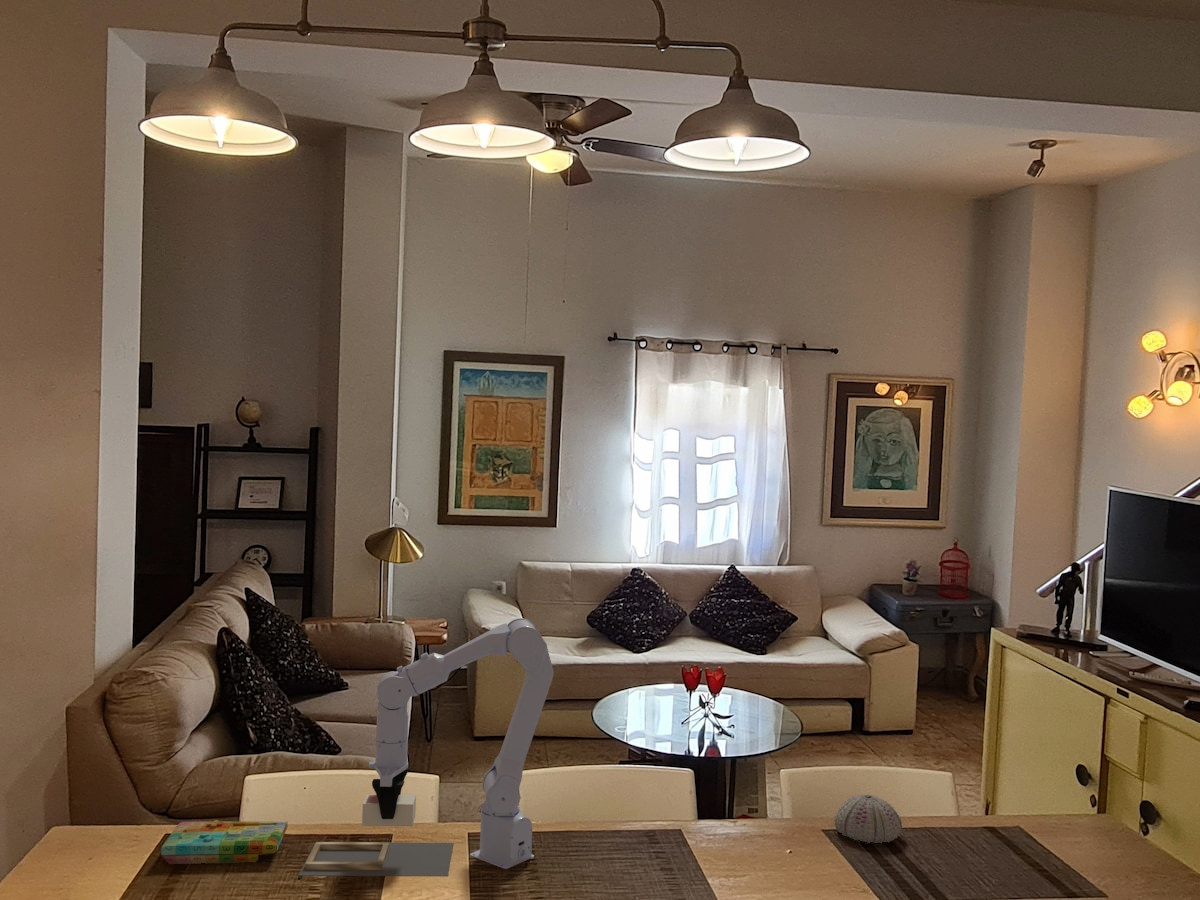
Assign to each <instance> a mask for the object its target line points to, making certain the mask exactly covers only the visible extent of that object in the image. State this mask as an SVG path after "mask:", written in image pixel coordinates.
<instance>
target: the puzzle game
mask: <svg viewBox="0 0 1200 900" xmlns="http://www.w3.org/2000/svg"><path fill="white" fill-rule="evenodd" d="M288 826H289V823H288V821H220V820H219V819H214V820H213V821H181V822H179V823H178V824H177V825H176V826H175V828H174V829H173V831H172V832H171V833H170V835H169V836H168V837H167V839H166V840H165V842H164V843H163V844H162V845H161V847H160V856H161V857H162V858H163V859H164V860H165V861H166V862H167V863H168V865H188V864H189V865H192V864H193V865H195V864H198V865H199V864H201V863H205V864H235V863H234V862H255V863H256V862H257V861H258V860H259V858H260V856H261V855H273V854H275V853H277V852H278V849H279V848H280V846H281V844H282V840H283V838H284V836H285V834H286V831H287V829H288ZM201 865H202V864H201Z"/></svg>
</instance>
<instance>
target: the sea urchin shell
mask: <svg viewBox="0 0 1200 900" xmlns="http://www.w3.org/2000/svg"><path fill="white" fill-rule="evenodd" d="M834 826H835V829H836V830H837V831H838V833H839V834H840V833H842V834H841V835H842V836H847V837H850V838H849V839H851V838H852V839H854V840H853V841H855V840H860V841H865V842H868V843H869V844H871V843H870V842H874V843H881V844H883V843H882V842H888V843H891V842H893V841H894V840H895V839H898V836H899V835H901V832H902V828H903V821H902V818H901V817H900V815H899V814H898V811H896V810H895V807H893V806H892V805H891V804H890V803H889V802H887V800H885V799H883V798H881V797H878V796H875V795H873V794H858V795H857V794H856V795H854V796H851V797H850V798H848V799H847V800H846V801H844V803H843V804H841V806H840V807H839V808H838V811H837V812H835V816H834ZM847 837H846V838H847ZM852 839H851V840H852ZM860 841H859V842H860ZM868 843H867V844H868Z"/></svg>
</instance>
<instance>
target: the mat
mask: <svg viewBox="0 0 1200 900" xmlns="http://www.w3.org/2000/svg"><path fill="white" fill-rule="evenodd" d="M315 844H316V842H315V843H314V844H313V847H312V849H311V850H310V851H309V852H310V853H311V852H312V850H313V848H314V846H315ZM454 845H455V843H454V842H392V841H391V842H389V850H388V853H387V856H386V859H385V862H384V865H383V868H382V870H305V863H306V861H307V859H308V857H309V855H310V853H309V855H307V858H306V861H305V862H304V864H303V866H302V868H301V870H300V872H299V874H298V879H303V877H305V876H306V877H309V876H310V877H315V876H316V877H319V876H320V877H321V876H322V877H323V876H324V877H325V876H327V877H328V876H329V877H449V873H450V867H451V862H452V861H451V860H452V857H453V850H454ZM380 852H381V850H333V849H321V850H320V852H319V854H318V856H317V858H316V860H315V862H377V861H378V858H379V855H380Z"/></svg>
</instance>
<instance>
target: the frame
mask: <svg viewBox="0 0 1200 900" xmlns="http://www.w3.org/2000/svg"><path fill="white" fill-rule="evenodd" d="M315 843H316V844H315ZM315 843H314V844H315V846H314V845H313V846H314V848H313V847H312V848H313V850H312V849H311V850H312V852H311V851H310V852H311V853H309V854H310V855H308V856H309V857H308V856H307V858H308V859H307V858H306V860H307V861H305V862H306V863H305V862H304V864H305V870H382V868H383V865H384V862H385V859H386V856H387V853H388V850H389V842H387V841H386V842H384V841H383V842H377V841H375V842H372V841H371V842H367V841H356V842H355V841H315ZM321 849H333V850H381V852H380V855H379V858H378V861H377V862H315V860H316V858H317V856H318V854H319V852H320V850H321Z"/></svg>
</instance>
